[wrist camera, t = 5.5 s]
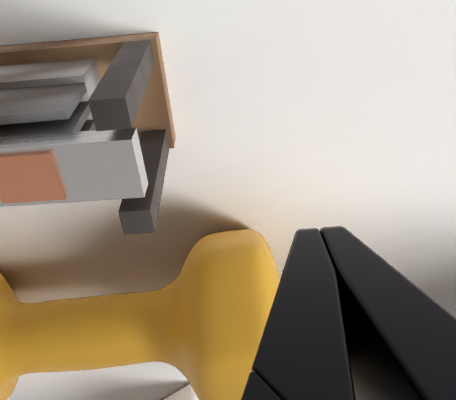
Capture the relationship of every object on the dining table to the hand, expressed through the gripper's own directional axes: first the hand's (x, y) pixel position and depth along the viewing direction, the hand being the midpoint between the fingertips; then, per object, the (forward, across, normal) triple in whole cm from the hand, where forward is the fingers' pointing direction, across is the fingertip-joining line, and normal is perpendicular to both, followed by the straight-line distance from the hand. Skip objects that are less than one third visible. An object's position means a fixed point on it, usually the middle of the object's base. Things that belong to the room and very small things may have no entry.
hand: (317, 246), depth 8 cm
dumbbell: (+12, +10, +11) cm, 19 cm away
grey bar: (+6, +9, +1) cm, 11 cm away
